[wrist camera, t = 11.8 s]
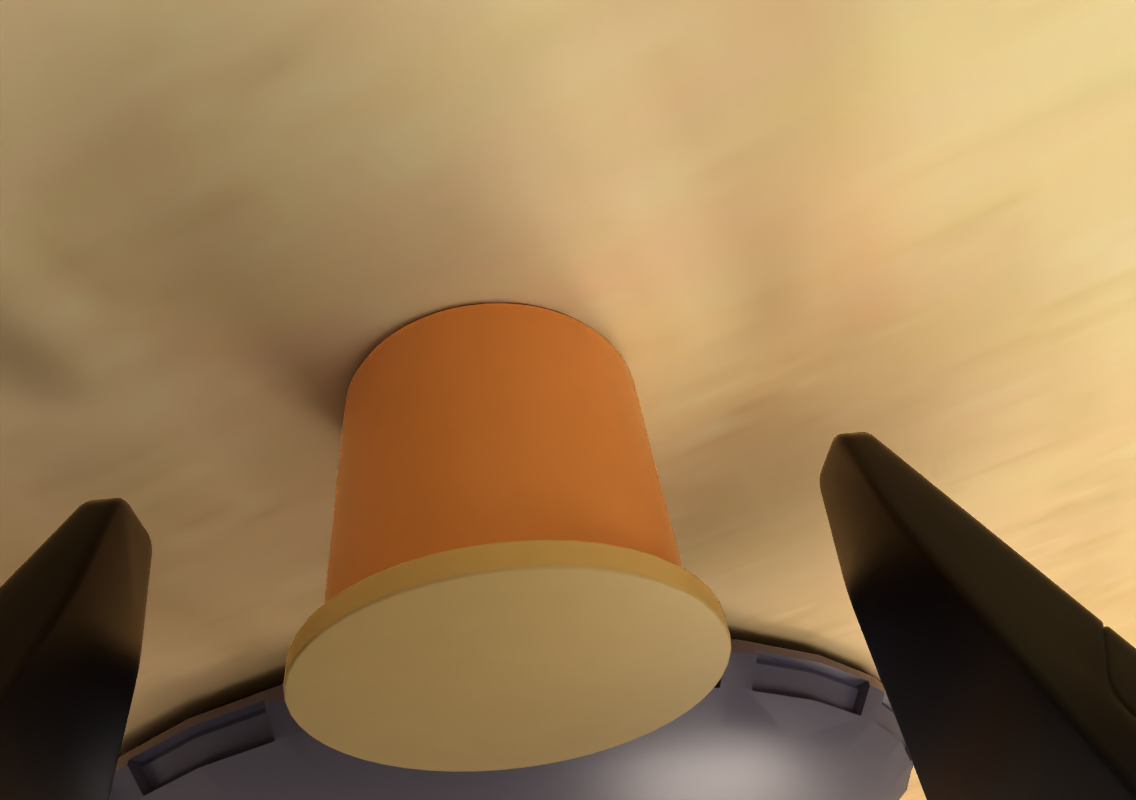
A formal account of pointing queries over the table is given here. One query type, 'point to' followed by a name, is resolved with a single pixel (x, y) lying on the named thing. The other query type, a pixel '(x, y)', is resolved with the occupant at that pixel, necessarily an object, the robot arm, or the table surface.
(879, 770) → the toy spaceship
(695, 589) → the coffee pod
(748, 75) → the table surface
